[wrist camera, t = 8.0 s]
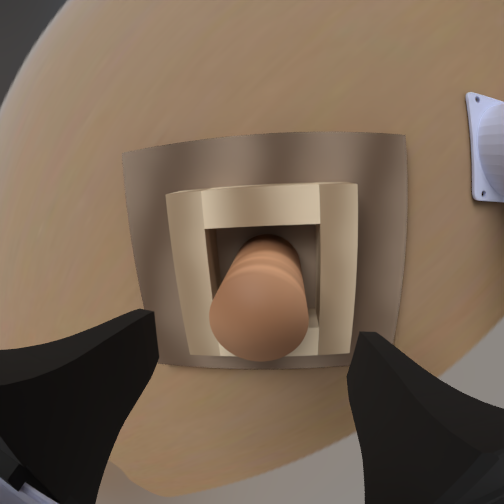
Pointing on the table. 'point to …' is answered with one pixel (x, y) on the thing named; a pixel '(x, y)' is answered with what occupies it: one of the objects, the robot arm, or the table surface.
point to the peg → (261, 301)
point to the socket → (276, 223)
